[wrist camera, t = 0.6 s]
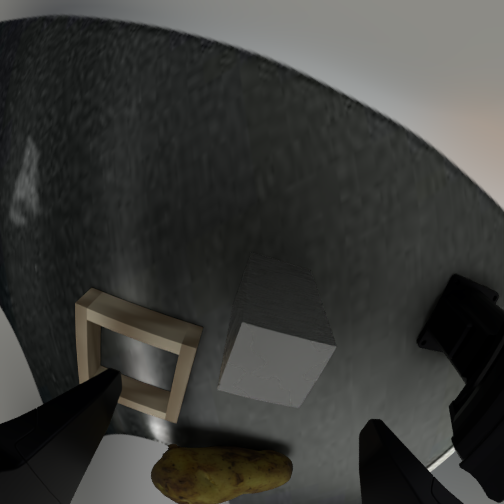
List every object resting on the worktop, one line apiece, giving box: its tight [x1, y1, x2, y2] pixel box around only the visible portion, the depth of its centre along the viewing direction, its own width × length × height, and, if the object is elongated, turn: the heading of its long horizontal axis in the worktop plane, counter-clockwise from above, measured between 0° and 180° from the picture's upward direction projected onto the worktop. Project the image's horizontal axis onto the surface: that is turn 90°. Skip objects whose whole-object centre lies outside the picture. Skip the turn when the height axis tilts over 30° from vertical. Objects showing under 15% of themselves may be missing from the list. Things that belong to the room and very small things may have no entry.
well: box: [75, 288, 203, 423], centre depth 21 cm, size 9×9×2 cm
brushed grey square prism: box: [217, 252, 337, 408], centre depth 16 cm, size 4×4×8 cm
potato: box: [151, 444, 293, 504], centre depth 22 cm, size 8×13×8 cm, turn 58°
